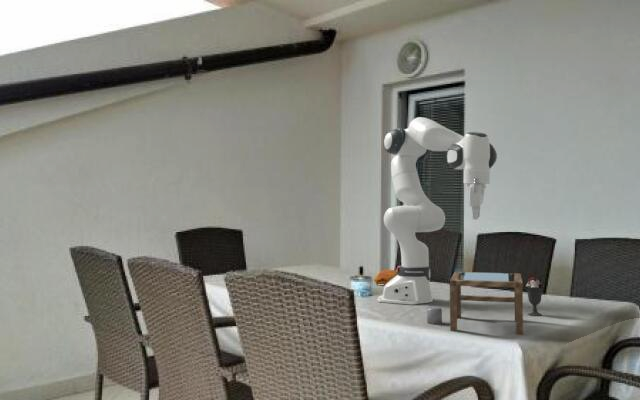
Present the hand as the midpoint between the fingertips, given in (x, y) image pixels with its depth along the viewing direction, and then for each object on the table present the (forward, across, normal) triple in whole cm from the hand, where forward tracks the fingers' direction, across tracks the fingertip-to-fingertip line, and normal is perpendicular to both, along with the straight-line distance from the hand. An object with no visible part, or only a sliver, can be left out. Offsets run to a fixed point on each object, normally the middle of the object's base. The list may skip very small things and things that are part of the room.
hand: (476, 218), depth 207 cm
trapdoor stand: (+34, -12, -4) cm, 37 cm away
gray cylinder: (+35, -12, +13) cm, 39 cm away
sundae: (+35, +10, -20) cm, 42 cm away
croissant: (+39, +70, +44) cm, 92 cm away
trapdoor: (+21, -10, -4) cm, 24 cm away
